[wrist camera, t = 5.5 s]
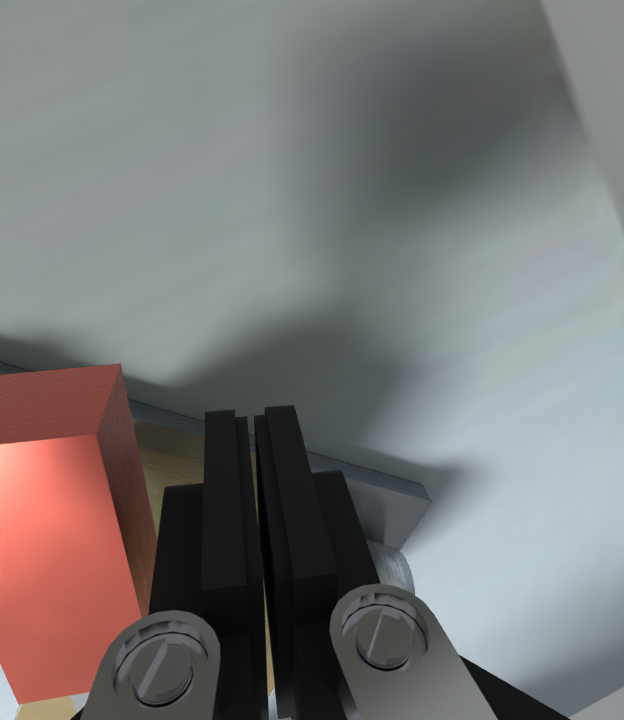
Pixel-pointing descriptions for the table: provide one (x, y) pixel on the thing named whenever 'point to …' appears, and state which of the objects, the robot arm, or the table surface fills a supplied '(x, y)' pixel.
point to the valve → (186, 466)
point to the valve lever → (69, 528)
